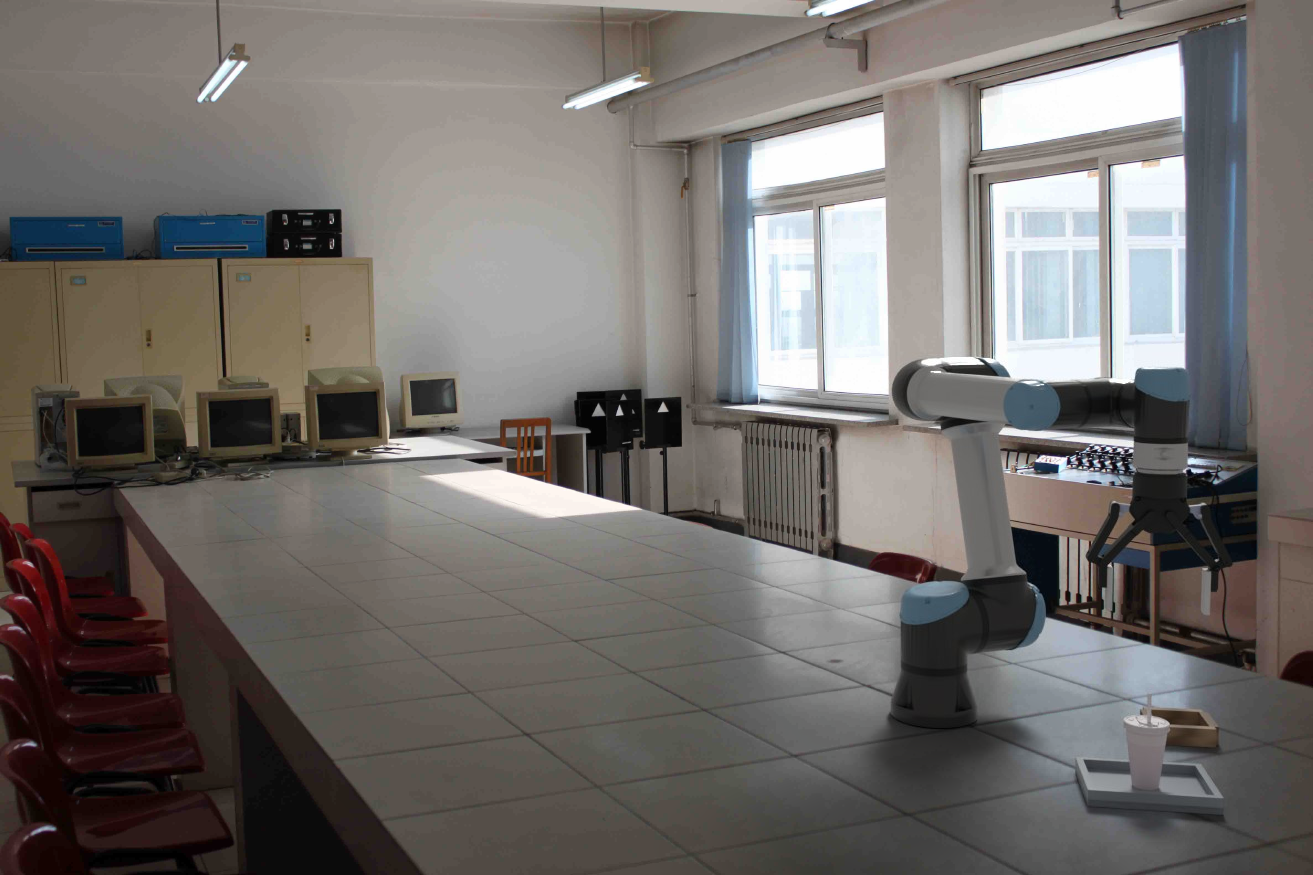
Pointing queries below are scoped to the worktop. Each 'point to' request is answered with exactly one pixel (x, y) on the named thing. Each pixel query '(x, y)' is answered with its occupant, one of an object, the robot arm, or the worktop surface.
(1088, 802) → the tray
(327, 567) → the worktop surface
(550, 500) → the worktop surface
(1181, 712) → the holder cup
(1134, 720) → the smoothie
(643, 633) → the worktop surface
